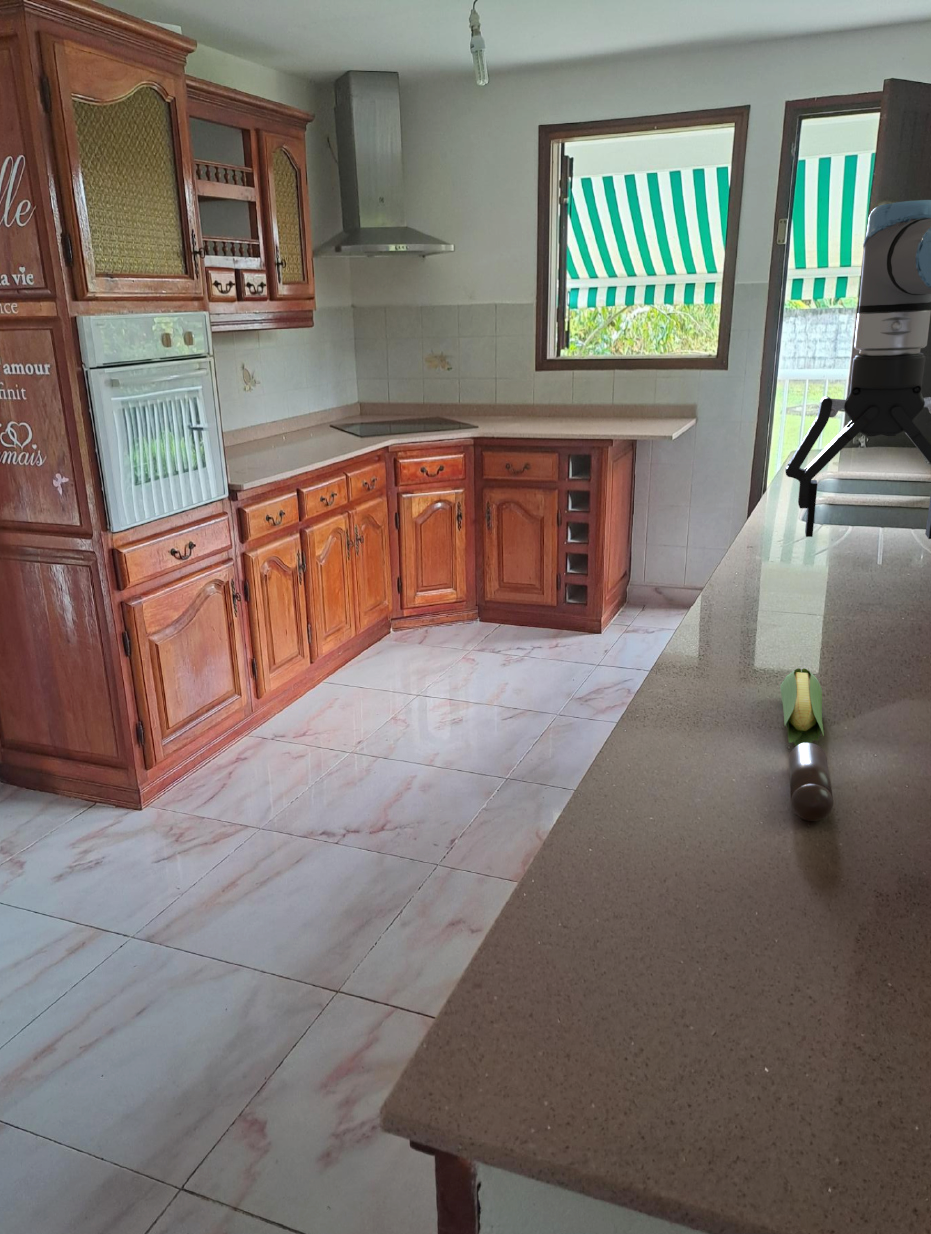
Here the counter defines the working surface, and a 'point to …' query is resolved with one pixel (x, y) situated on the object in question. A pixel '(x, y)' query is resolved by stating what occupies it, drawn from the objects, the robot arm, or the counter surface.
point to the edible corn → (802, 706)
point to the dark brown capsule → (810, 782)
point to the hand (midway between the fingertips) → (868, 535)
